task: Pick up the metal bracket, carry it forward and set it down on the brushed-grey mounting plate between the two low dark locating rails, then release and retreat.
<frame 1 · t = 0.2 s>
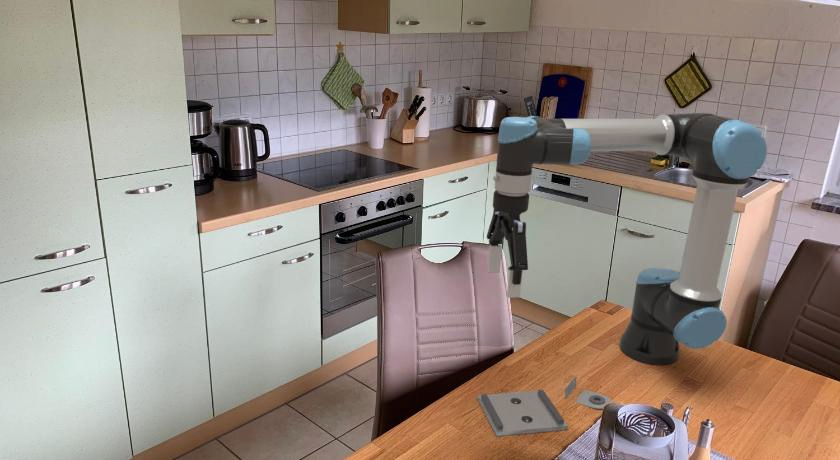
hand: (502, 284, 144), 27 cm above the table, fingers open, 13 cm apart
bracket: (587, 400, 152), on the table
mount plate: (520, 413, 145), on the table
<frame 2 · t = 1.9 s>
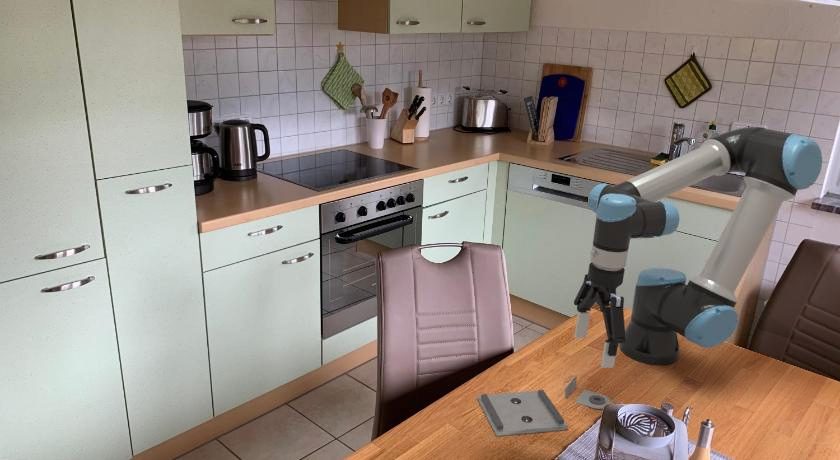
hand: (593, 351, 148), 12 cm above the table, fingers open, 13 cm apart
nothing on the table moved.
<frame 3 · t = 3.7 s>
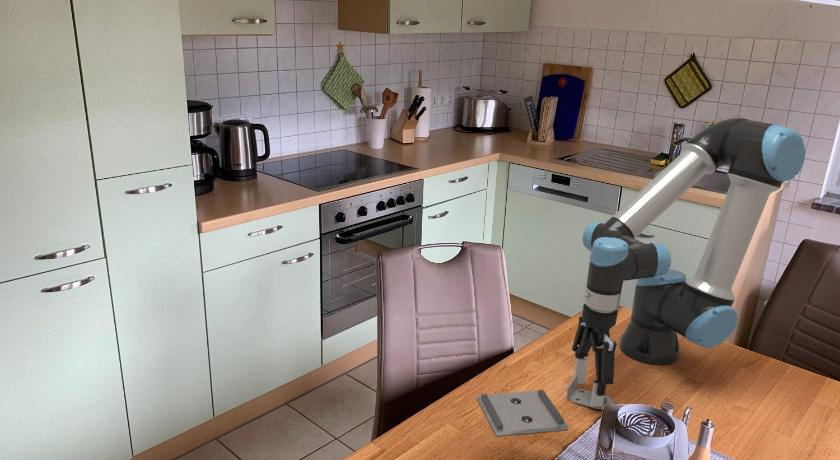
hand: (587, 393, 152), 1 cm above the table, fingers closed on bracket, 9 cm apart
bracket: (588, 400, 152), on the table, touching gripper
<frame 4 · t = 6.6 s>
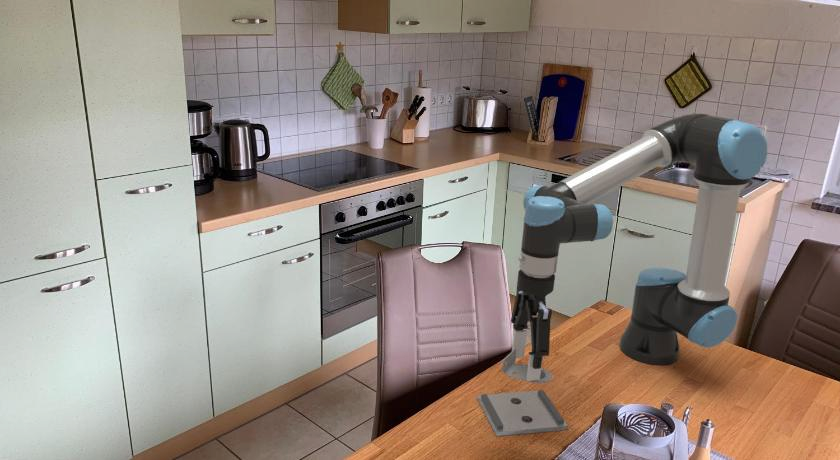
hand: (525, 368, 141), 12 cm above the table, fingers closed on bracket, 9 cm apart
bracket: (526, 374, 140), point 11 cm above the table, touching gripper
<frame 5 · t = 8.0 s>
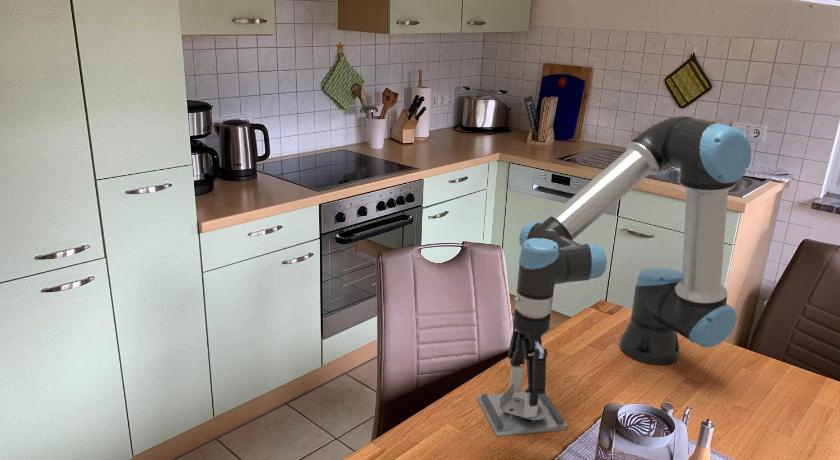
hand: (522, 403, 144), 3 cm above the table, fingers closed on bracket, 9 cm apart
bracket: (523, 410, 143), point 1 cm above the table, touching gripper
when the fingers open (3 cm above the table, at t = 9.2 s): bracket stays where it is, resting on mount plate.
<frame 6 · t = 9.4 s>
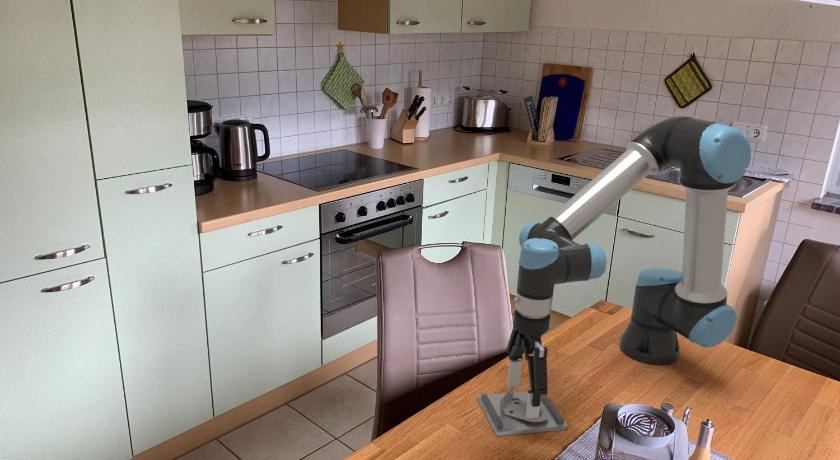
hand: (522, 401, 144), 3 cm above the table, fingers open, 11 cm apart
bracket: (523, 412, 144), point 1 cm above the table, touching mount plate
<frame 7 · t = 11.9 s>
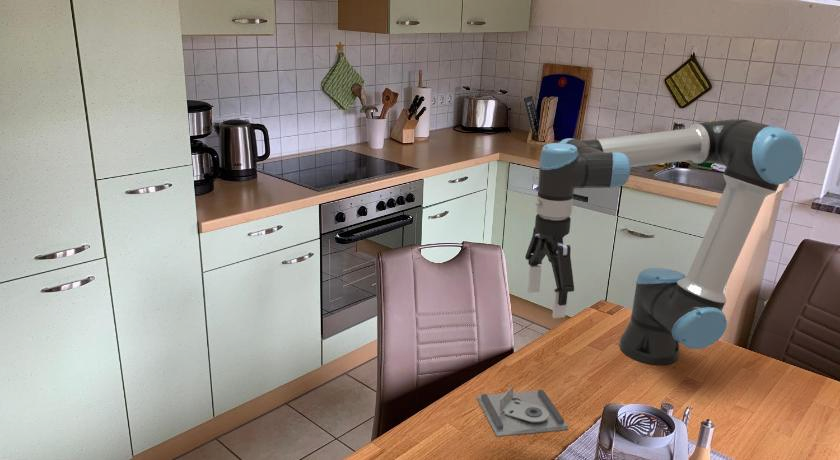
hand: (545, 303, 148), 22 cm above the table, fingers open, 13 cm apart
nothing on the table moved.
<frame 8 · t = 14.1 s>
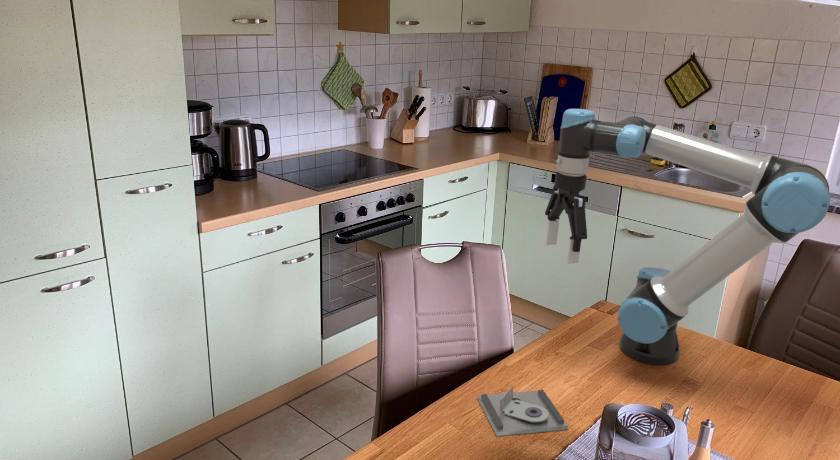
hand: (561, 253, 167), 27 cm above the table, fingers open, 13 cm apart
nothing on the table moved.
at the end: bracket inside the target area on the mount plate (0.9 cm from its centre), point 0.9 cm above the mount plate's base; bracket touching mount plate; the gripper is holding nothing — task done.
